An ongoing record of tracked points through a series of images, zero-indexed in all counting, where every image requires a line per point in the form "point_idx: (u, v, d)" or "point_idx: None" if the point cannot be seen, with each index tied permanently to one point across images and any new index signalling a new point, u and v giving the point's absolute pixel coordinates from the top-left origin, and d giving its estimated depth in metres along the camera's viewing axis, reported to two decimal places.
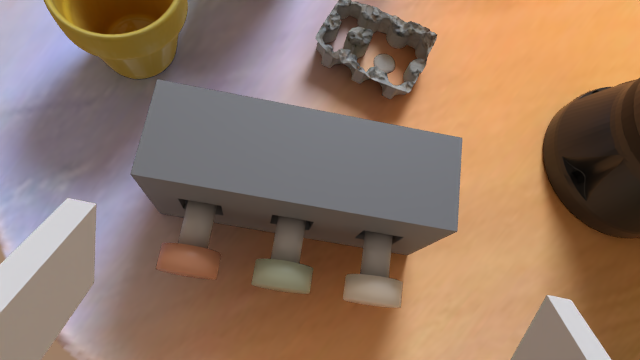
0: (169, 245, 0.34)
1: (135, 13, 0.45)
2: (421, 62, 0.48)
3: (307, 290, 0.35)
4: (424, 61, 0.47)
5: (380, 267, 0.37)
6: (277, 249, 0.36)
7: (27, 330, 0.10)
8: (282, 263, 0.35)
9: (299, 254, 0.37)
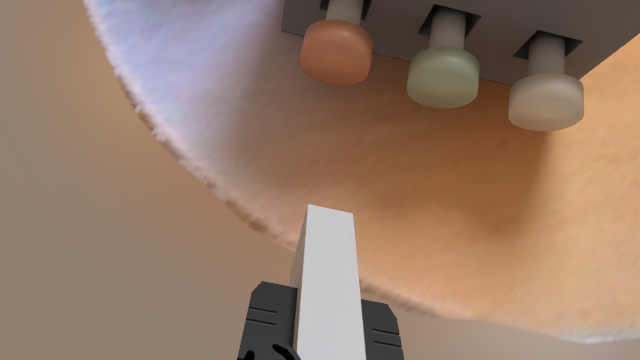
0: (321, 23, 0.29)
1: None
2: None
3: (477, 89, 0.30)
4: None
5: (557, 73, 0.31)
6: (438, 45, 0.31)
7: None
8: (453, 50, 0.29)
9: None
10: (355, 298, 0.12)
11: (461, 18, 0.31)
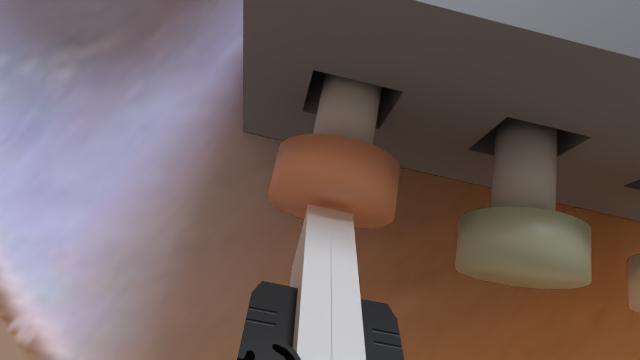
0: (306, 139, 0.15)
1: None
2: None
3: None
4: None
5: None
6: (515, 191, 0.17)
7: None
8: (551, 217, 0.15)
9: None
10: (355, 298, 0.12)
11: (552, 138, 0.18)
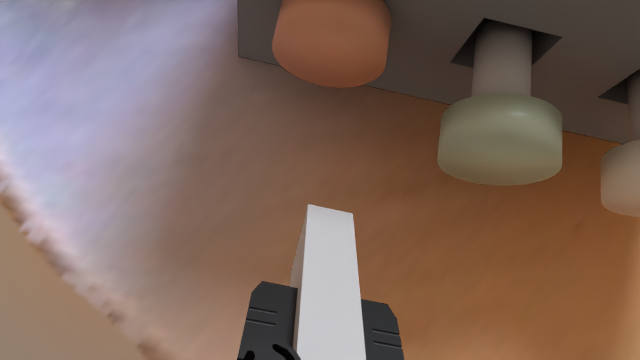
0: None
1: None
2: None
3: (561, 164, 0.17)
4: None
5: None
6: (492, 87, 0.18)
7: None
8: (523, 100, 0.17)
9: None
10: (355, 298, 0.12)
11: (526, 41, 0.19)
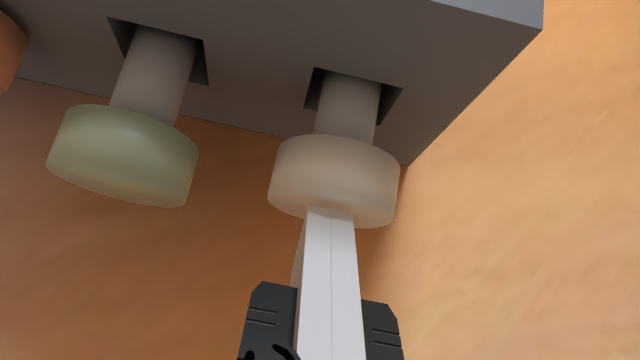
0: None
1: None
2: None
3: (173, 186, 0.15)
4: None
5: (352, 130, 0.17)
6: (116, 96, 0.16)
7: None
8: (108, 113, 0.14)
9: (168, 113, 0.16)
10: (355, 298, 0.12)
11: (172, 43, 0.17)
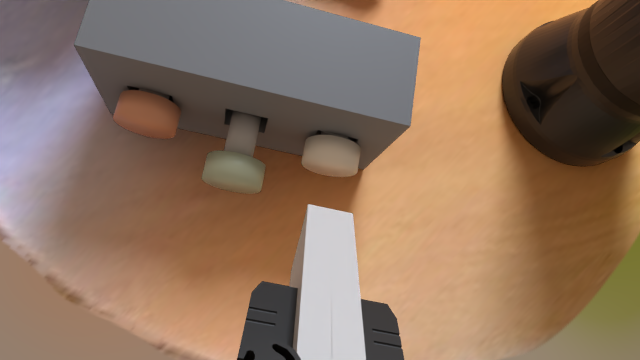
0: (127, 92, 0.34)
1: None
2: None
3: (258, 185, 0.35)
4: None
5: None
6: (229, 144, 0.35)
7: None
8: (233, 155, 0.34)
9: (252, 151, 0.36)
10: (355, 298, 0.12)
11: (252, 118, 0.36)
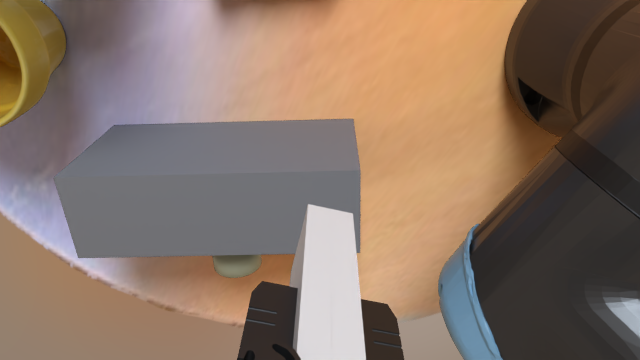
0: None
1: None
2: None
3: (257, 268, 0.44)
4: None
5: None
6: None
7: None
8: (229, 263, 0.43)
9: None
10: (355, 298, 0.12)
11: None
